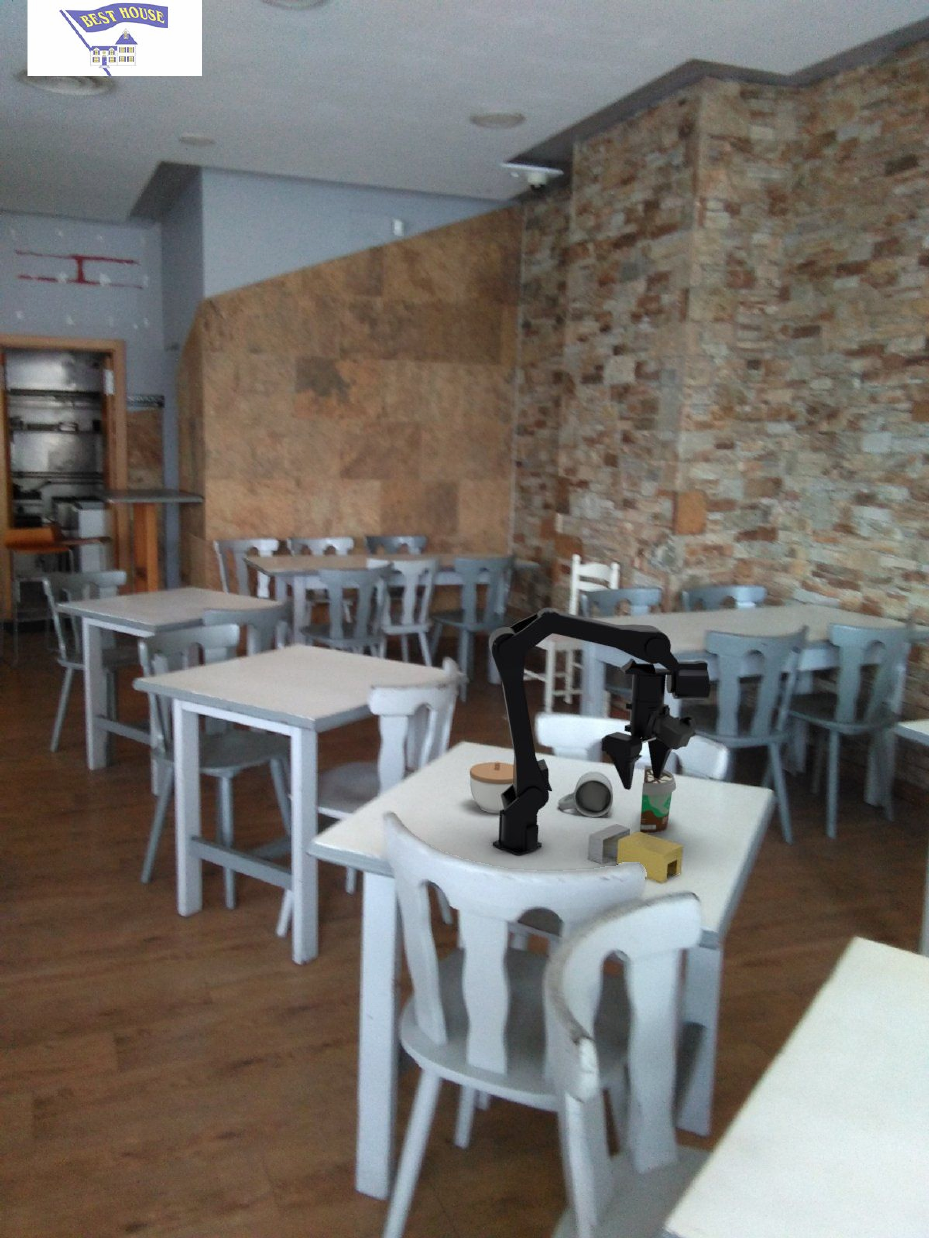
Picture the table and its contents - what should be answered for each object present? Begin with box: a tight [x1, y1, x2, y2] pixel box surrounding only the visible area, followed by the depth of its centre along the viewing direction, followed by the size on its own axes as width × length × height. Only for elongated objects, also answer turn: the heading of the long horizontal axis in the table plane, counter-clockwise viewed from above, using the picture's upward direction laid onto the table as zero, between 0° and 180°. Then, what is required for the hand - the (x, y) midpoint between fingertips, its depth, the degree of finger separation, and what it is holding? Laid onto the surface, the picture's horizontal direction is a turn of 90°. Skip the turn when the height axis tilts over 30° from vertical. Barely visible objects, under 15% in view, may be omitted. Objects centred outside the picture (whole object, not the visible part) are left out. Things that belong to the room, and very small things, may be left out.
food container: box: [639, 764, 677, 834], centre depth 199 cm, size 12×6×10 cm, turn 168°
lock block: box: [616, 830, 684, 884], centre depth 178 cm, size 9×6×5 cm, turn 46°
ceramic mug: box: [557, 770, 614, 818], centre depth 207 cm, size 11×8×8 cm
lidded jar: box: [469, 761, 513, 814], centre depth 206 cm, size 11×11×9 cm
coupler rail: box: [587, 823, 631, 865], centre depth 182 cm, size 10×8×4 cm
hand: (642, 783), depth 186 cm, fingers open, 9 cm apart
